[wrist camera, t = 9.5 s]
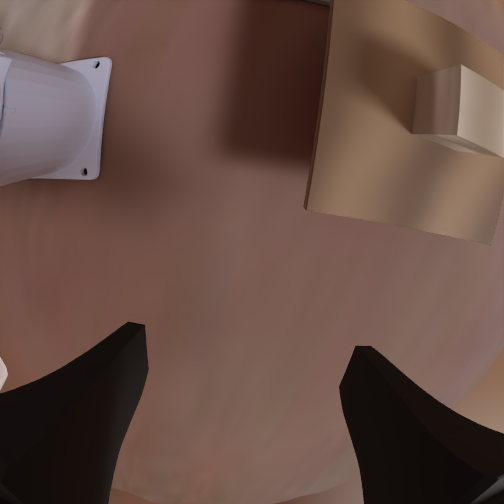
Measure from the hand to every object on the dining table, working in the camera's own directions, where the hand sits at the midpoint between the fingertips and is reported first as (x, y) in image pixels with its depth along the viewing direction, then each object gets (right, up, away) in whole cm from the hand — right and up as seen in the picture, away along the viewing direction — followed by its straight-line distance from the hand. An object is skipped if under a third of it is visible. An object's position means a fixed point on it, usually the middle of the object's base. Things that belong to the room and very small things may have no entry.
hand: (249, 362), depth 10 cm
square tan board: (+9, +11, +2) cm, 14 cm away
